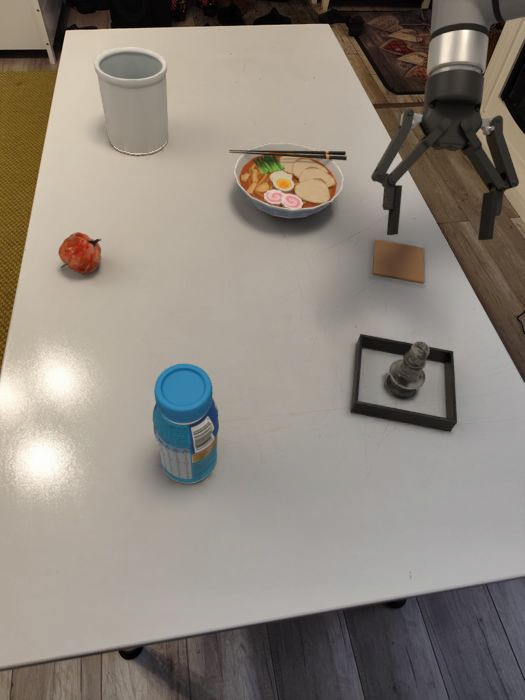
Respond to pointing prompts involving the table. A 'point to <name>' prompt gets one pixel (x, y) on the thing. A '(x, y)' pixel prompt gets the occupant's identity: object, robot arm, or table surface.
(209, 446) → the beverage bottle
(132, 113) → the utensil holder
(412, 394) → the grey chess piece
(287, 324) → the table surface
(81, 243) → the pomegranate
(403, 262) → the cork mat
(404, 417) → the open square frame
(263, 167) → the ramen bowl
